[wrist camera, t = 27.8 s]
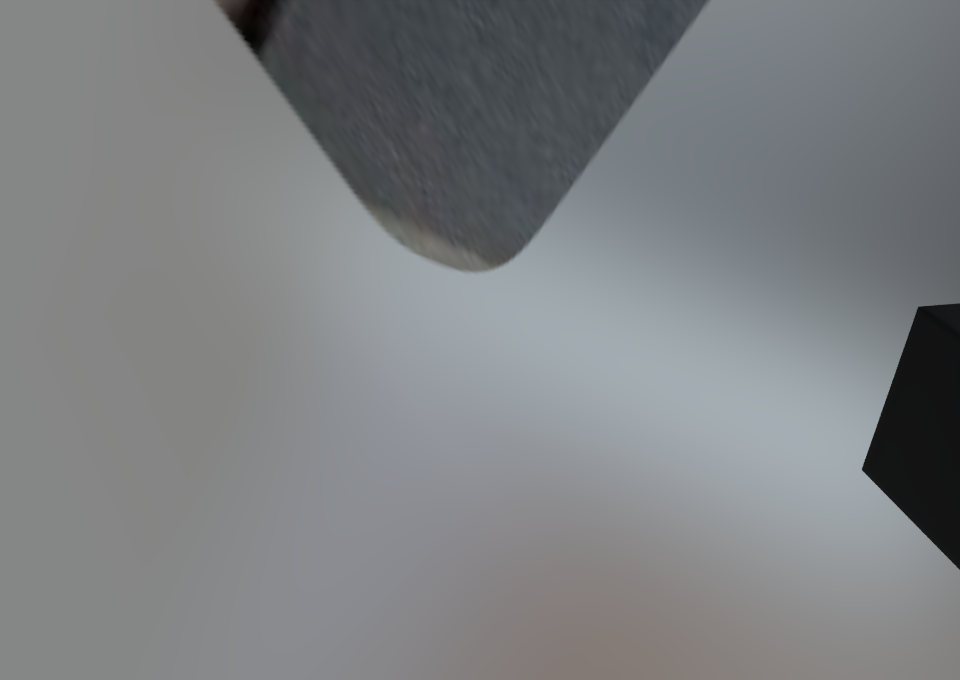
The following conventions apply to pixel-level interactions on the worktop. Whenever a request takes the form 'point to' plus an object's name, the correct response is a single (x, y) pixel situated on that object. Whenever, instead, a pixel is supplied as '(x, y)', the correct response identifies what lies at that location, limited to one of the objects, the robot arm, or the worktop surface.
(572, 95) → the worktop surface
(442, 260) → the worktop surface
